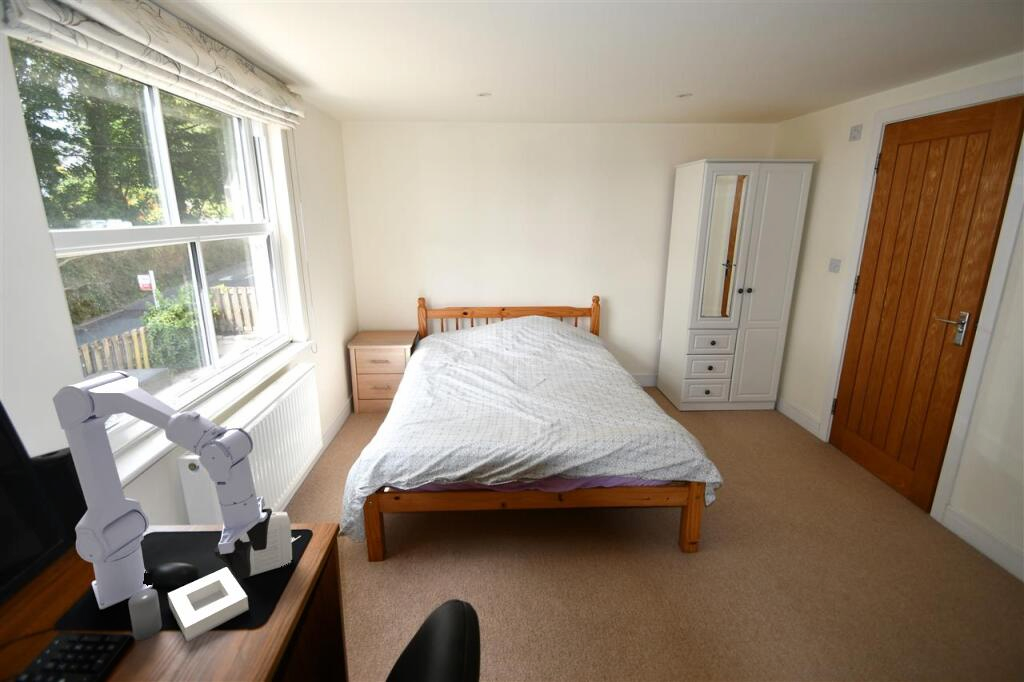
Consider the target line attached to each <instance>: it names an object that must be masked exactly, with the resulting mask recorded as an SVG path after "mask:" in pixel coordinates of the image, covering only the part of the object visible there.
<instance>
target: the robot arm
mask: <svg viewBox="0 0 1024 682" xmlns="http://www.w3.org/2000/svg"><path fill="white" fill-rule="evenodd" d="M52 403H53V405H54V408H55V412H56V415H57V418H58V422H59V425H60V428H61V429H62V430H64V435H65V437H66V440H67V443H68V447H69V450H70V454H71V457H72V461H73V463H74V467H75V470H76V473H77V477H78V480H79V484H80V487H81V490H82V492H83V493H82V494H83V497H84V500H85V504H86V506H87V510H86V511H85V513H84V515H82V517H81V518H80V520H79V521H78V523H77V524H76V526H75V528H74V530H75V533H76V541H75V550H76V552H77V554H78V555H79V556H80V558H81V559H83V560H84V561H86V562H89V563H92V566H93V572H94V577H95V580H93V581H92V582H91V586H92V590H93V592H94V596H95V598H96V602H97V605H98V608H99V610H104V609H106V608H108V607H111V606H113V605H116V604H118V603H121V602H122V601H125V600H126V599H130V598H131V597H132V596H133V595H135V594H136V593H138V592H140V591H143V590H146V589H153V584H152V585H148V586H147V585H146V584H143V581H144V573H145V571H146V568H145V565H144V557H143V551H142V546H141V542H142V541H143V540H144V533H146V532H147V531H148V529H149V526H150V521H149V517H148V514H146V512H145V511H144V510H143V508H142V506H141V503H140V501H139V500H137V499H133V498H128V497H125V493H124V488H123V486H122V483H121V479H120V476H119V471H118V468H117V464H116V461H115V457H114V454H113V451H112V447H111V443H110V441H109V436H108V433H107V429H106V425H105V423H106V422H107V421H108V420H109V419H110V418H111V416H112V415H113V416H114V415H116V414H117V415H118V414H122V413H123V414H127V415H129V416H131V417H133V418H136V419H139V420H142V421H144V422H145V423H149V424H150V425H152V426H155V427H158V428H160V429H162V430H164V432H165V437H166V439H167V440H168V441H170V442H171V443H174V444H175V445H177V446H179V447H181V448H182V449H185V450H187V451H189V452H191V453H193V454H194V455H196V456H198V460H199V463H200V464H201V466H202V467H203V468H204V469H205V470H206V471H207V472H208V474H209V479H210V480H211V481H212V482H214V487H215V491H216V495H217V500H218V504H219V508H220V513H221V517H222V521H223V524H222V530H221V537H220V541H219V542H218V544H217V546H216V547H215V548H214V555H215V557H217V559H221V560H222V561H223V562H224V563H225V564H226V565H227V566H228V567H229V570H230V571H231V573H233V576H234V577H235V579H236V580H241V579H247V578H250V577H251V576H250V574H251V564H250V551H251V546H252V548H253V550H254V551H258V550H264V549H266V547H267V533H268V525H269V520H270V517H271V514H272V512H273V510H272V508H264V507H265V506H266V503H265V502H266V501H265V497H264V496H259V497H257V492H256V489H255V484H254V479H253V475H252V468H251V464H250V459H249V457H248V456H249V455H250V454H251V453H252V451H253V449H254V442H253V438H252V437H251V435H250V433H248V432H247V431H246V430H244V429H243V428H242V427H238V426H231V427H228V426H221V425H218V424H217V423H215V422H213V421H211V420H209V419H207V418H205V417H204V416H201V413H199V412H197V411H191V410H188V411H183V412H179V411H177V410H176V409H174V408H172V407H171V406H169V405H168V404H166V403H164V402H163V401H161V400H160V399H158V398H157V397H156V396H154V395H152V394H151V393H149V392H148V391H146V390H144V389H142V385H141V383H140V380H139V379H138V378H137V377H134V376H131V374H129V373H127V372H125V371H122V370H115V371H112V372H109V373H108V374H105V375H101V376H98V377H94V378H91V379H87V380H84V381H80V382H78V383H74V384H68V385H65V386H62V387H61V388H60V389H59V390H58V391H57V392H56V394H55V395H54V396H53V397H52ZM245 533H247V535H248V537H249V540H250V541H248V542H243V541H242V540H241V541H240V537H241V536H242V535H244V534H245Z"/></svg>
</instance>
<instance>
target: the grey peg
mask: <svg viewBox="0 0 1024 682" xmlns="http://www.w3.org/2000/svg"><path fill="white" fill-rule="evenodd" d="M127 604H128V609H129V614H130V615H129V616H130V622H131V627H132V633H133V638H134V640H137V641H143V640H144V641H145V640H147V639H151V638H152V637H154V636H155V635H157V634H158V633H159V632H160V630H161V629H162V627H163V621H162V616H161V608H160V601H159V595H158V591H157V589H154V588H150V589H146V590H143V591H140V592H138V593H136V594H135V595H133V596H132V597H130V598H129V600H128V603H127Z"/></svg>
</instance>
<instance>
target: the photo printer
mask: <svg viewBox="0 0 1024 682" xmlns="http://www.w3.org/2000/svg"><path fill="white" fill-rule="evenodd" d="M291 526H292V525H291V520H290V517H289V515H288V512H287V511H272V514H271V517H270V520H269V525H268V533H267V547H266V549H264V550H258V551H254V550H253V548H252V546H251V551H250V564H251V574H250V576H249V577H251V576H255V575H258V574H261V573H265V572H268V571H271V570H274V569H278V568H281V566H282V567H285V566H287V565H289V564H291V563H292V561H291V560H293V550H292V549H293V546H292V545H293V542H292V529H291V528H292V527H291ZM241 540H242V541H243V542H248V541H250V540H249V537H248V535H247V533H245V534H244V535H242V536H241V537H240V541H241ZM288 563H289V564H288ZM286 564H287V565H286ZM284 565H285V566H284Z"/></svg>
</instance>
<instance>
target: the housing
mask: <svg viewBox="0 0 1024 682" xmlns="http://www.w3.org/2000/svg"><path fill="white" fill-rule="evenodd" d="M248 598H249V597H248V595H247V594H246V592H245V590H244V589H243V588H242V587H241V585H240V584H239V582H238V580H237V578H236V577H235V576H234V574H232V571H231V570H230V568H228V567H223V568H221V569H219V570H217V571H215V572H213V573H210V574H208V575H205V576H203V577H202V578H199V579H197V580H194V581H193V582H190V583H187V584H185V585H184V586H181V587H179V588H177V589H175V590H172V591H170V592H167V599H168V604H169V609H170V611H171V612H172V614H173V617H174V619H175V620H176V622H177V625H178V627H179V628H180V631H181V632H182V634H183V637H184V639H185V640H186V642H189V641H191V640H193V639H195V638H197V637H199V636H201V635H203V634H205V633H206V632H208V631H210V630H213V629H214V628H217V627H218V626H220V625H222V624H224V623H227V621H230V620H231V619H234V618H236V617H237V616H240V615H241V614H243V613H245V612H246V611H249V601H248V600H249V599H248Z"/></svg>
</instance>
